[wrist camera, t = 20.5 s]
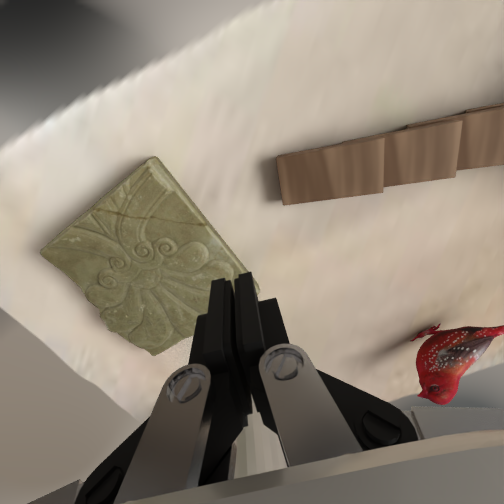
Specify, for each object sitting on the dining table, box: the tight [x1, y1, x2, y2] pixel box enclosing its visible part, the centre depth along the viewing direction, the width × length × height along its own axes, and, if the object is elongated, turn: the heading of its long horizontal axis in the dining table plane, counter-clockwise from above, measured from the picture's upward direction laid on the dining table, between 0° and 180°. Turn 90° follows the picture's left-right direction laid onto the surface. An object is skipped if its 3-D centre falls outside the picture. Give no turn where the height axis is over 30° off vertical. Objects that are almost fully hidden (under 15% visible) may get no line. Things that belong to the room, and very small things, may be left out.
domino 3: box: [406, 106, 504, 170], centre depth 25 cm, size 2×5×10 cm
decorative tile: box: [40, 156, 260, 356], centre depth 31 cm, size 19×20×4 cm
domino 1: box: [276, 137, 385, 205], centre depth 26 cm, size 2×5×10 cm
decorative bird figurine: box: [411, 324, 504, 405], centre depth 36 cm, size 3×18×10 cm, turn 127°
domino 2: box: [342, 120, 463, 187], centre depth 26 cm, size 2×5×10 cm
